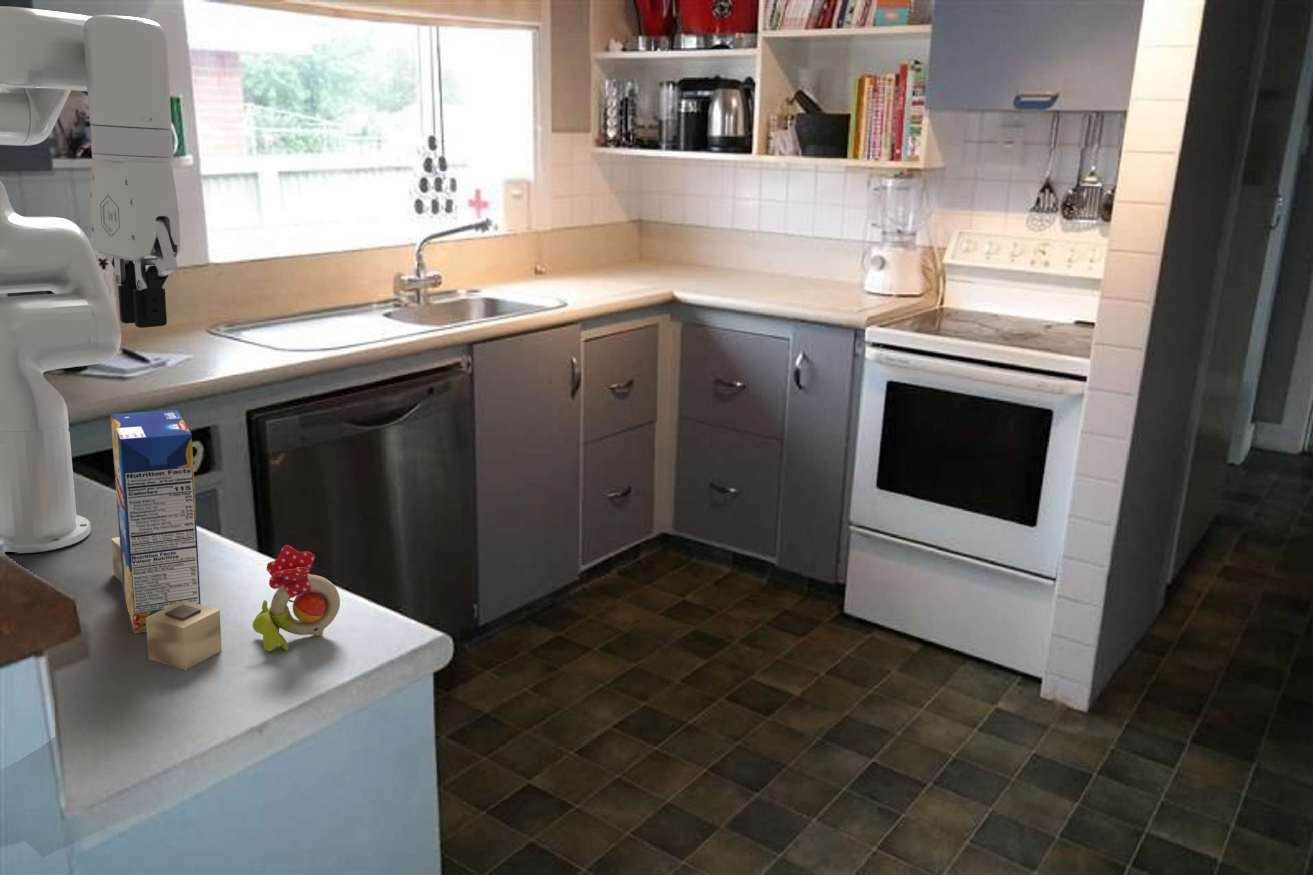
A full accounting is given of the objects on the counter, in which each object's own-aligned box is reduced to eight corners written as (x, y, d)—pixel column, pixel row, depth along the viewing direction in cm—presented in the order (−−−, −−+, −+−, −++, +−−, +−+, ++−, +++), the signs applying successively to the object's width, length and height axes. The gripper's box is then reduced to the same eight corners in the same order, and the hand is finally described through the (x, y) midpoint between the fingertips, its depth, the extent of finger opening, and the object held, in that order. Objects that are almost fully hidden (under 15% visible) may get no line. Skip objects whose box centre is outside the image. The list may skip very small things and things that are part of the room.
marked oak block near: (148, 659, 112) (145, 614, 110) (185, 640, 116) (183, 597, 115) (185, 670, 110) (182, 625, 109) (221, 651, 114) (219, 607, 113)
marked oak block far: (113, 575, 131) (110, 536, 130) (156, 566, 134) (154, 528, 133) (127, 589, 128) (124, 549, 126) (170, 579, 131) (168, 540, 130)
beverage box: (134, 633, 117) (120, 439, 111) (123, 595, 126) (110, 414, 120) (201, 622, 120) (191, 434, 114) (186, 586, 129) (176, 409, 123)
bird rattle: (310, 640, 122) (232, 624, 117) (348, 552, 122) (271, 532, 117) (324, 665, 117) (243, 649, 112) (364, 573, 117) (284, 552, 111)
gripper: (57, 140, 111) (71, 316, 116) (137, 149, 102) (148, 340, 107) (128, 143, 117) (139, 310, 122) (210, 151, 108) (218, 332, 113)
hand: (143, 322), depth 114 cm, fingers closed
